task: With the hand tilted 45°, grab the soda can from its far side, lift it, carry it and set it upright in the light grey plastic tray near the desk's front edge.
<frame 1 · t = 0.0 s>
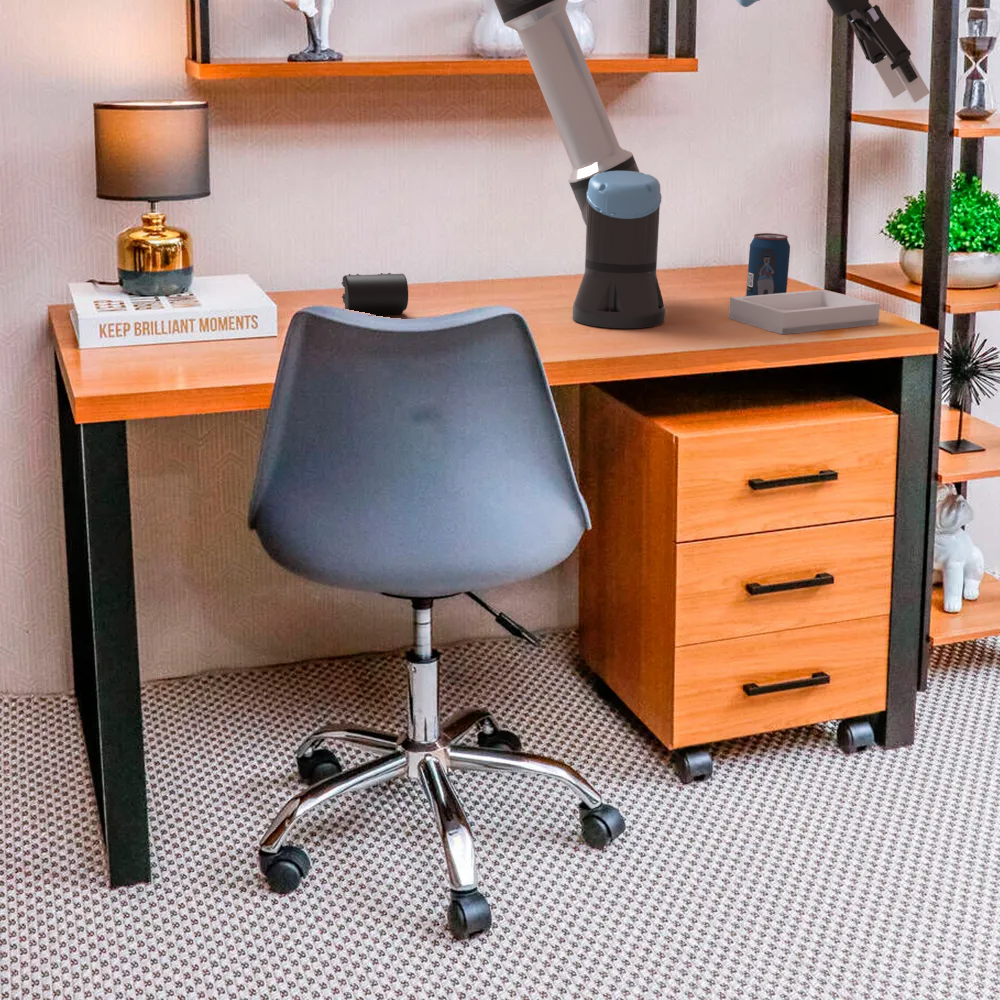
hand: (911, 95, 237), 36 cm above the table, tool tilted 35°, fingers open, 13 cm apart
soda can: (765, 305, 252), on the table
tray: (802, 321, 238), on the table
end cap: (374, 316, 237), on the table
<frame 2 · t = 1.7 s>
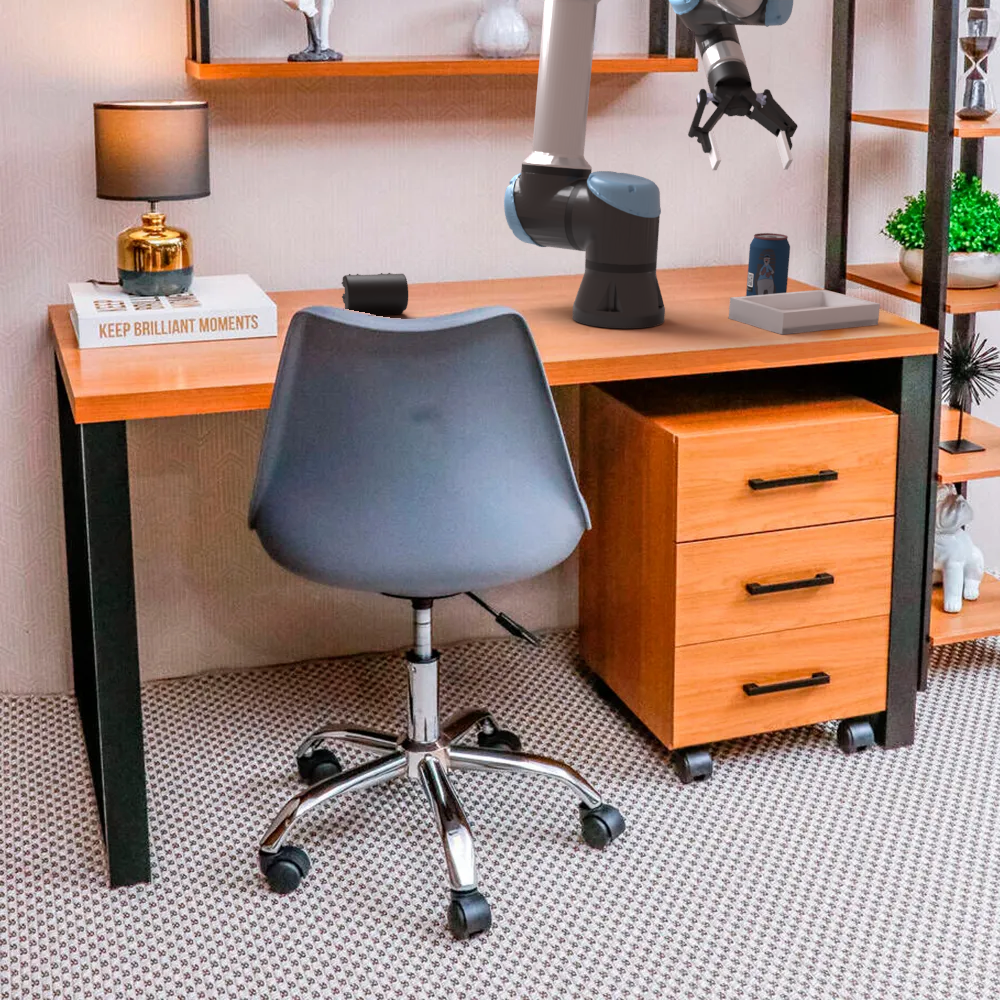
hand: (752, 165, 255), 23 cm above the table, tool tilted 45°, fingers open, 13 cm apart
nothing on the table moved.
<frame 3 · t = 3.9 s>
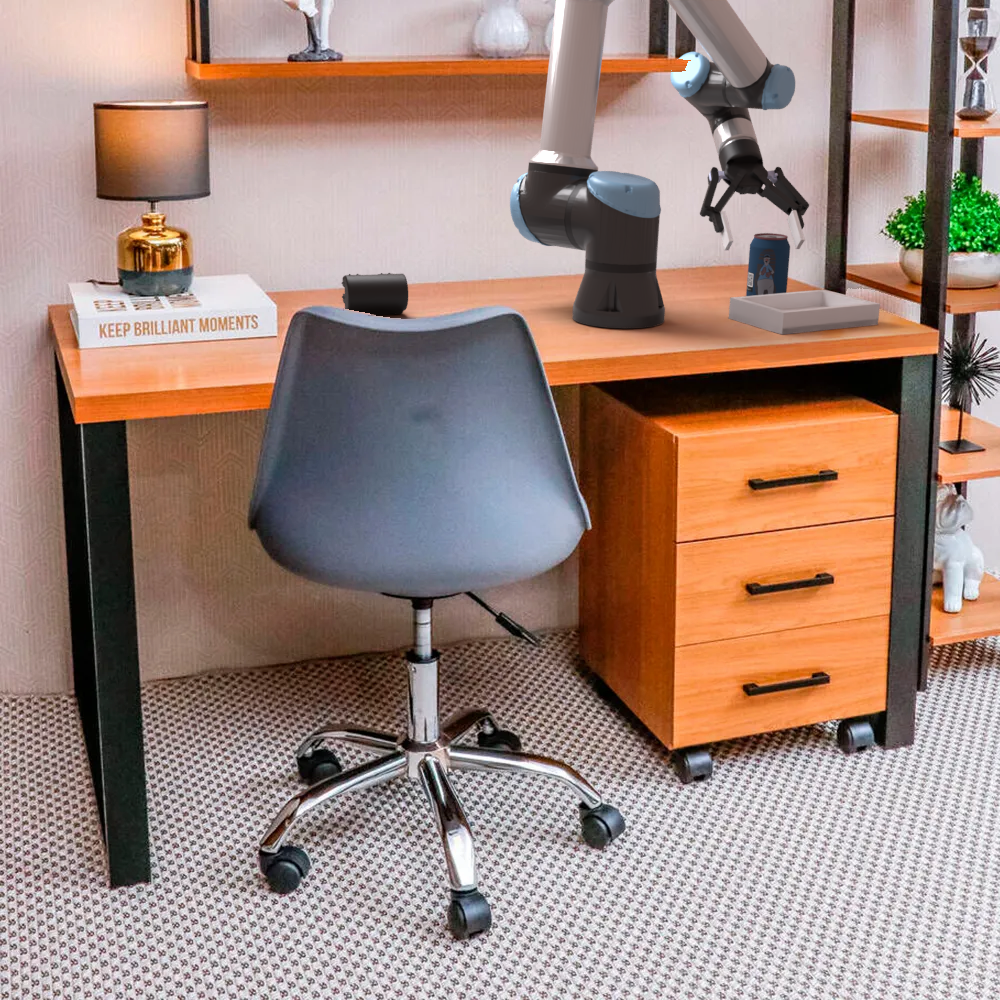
hand: (764, 245, 254), 10 cm above the table, tool tilted 45°, fingers open, 13 cm apart
nothing on the table moved.
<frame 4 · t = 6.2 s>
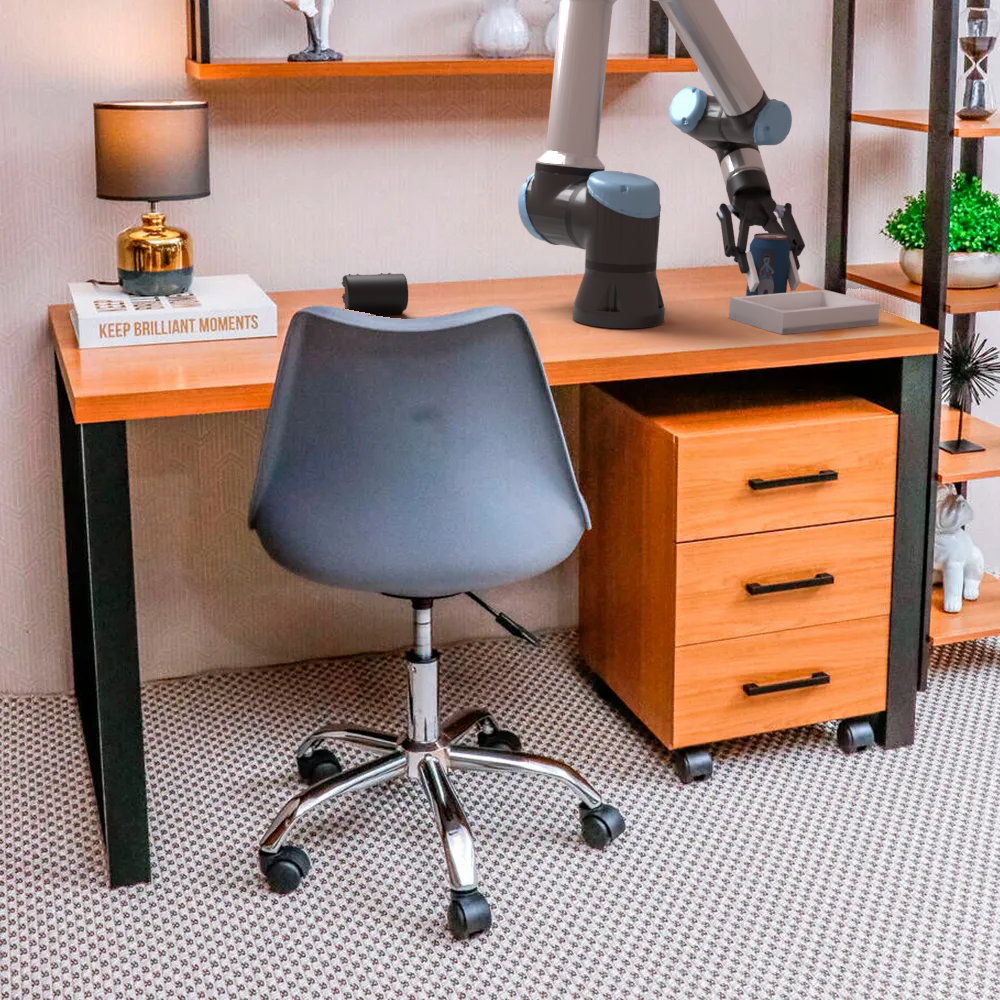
hand: (775, 286, 247), 4 cm above the table, tool tilted 45°, fingers closed on soda can, 7 cm apart
soda can: (765, 305, 252), on the table, touching gripper
everything else where it was.
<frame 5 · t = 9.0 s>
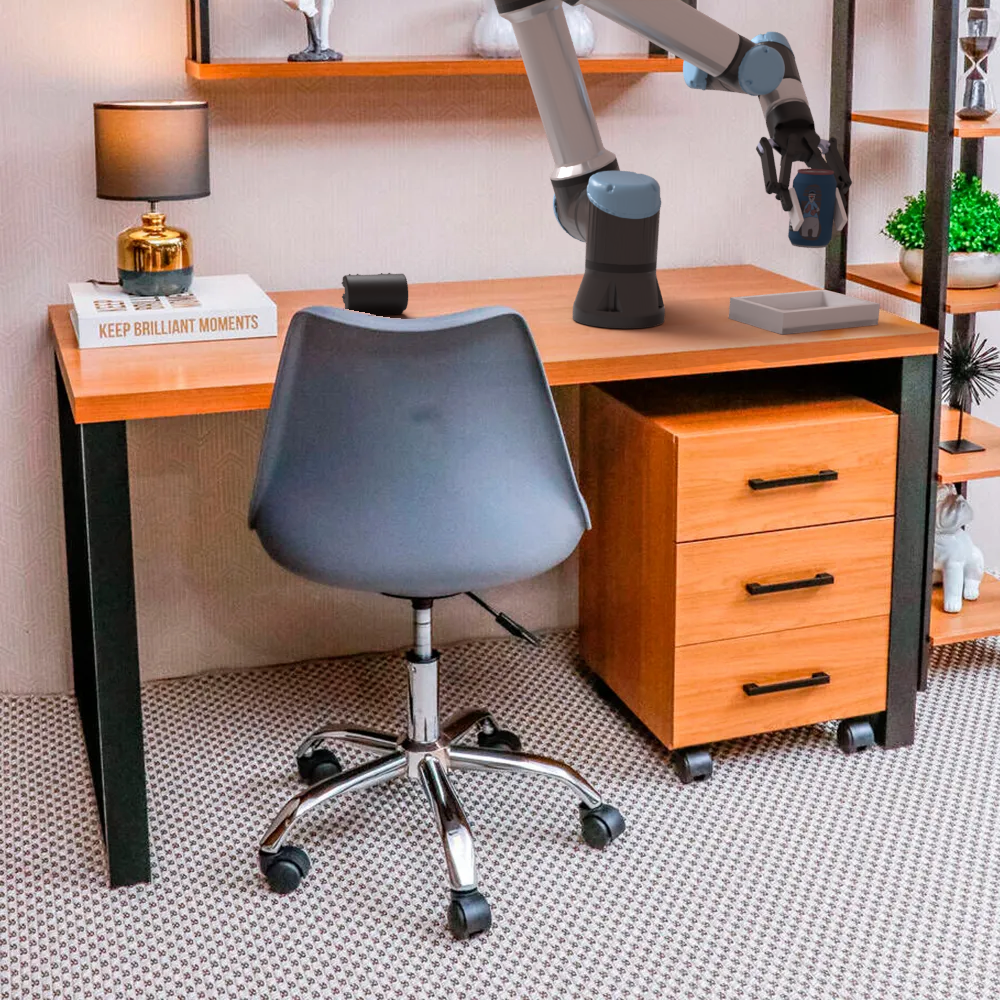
hand: (820, 225, 229), 16 cm above the table, tool tilted 45°, fingers closed on soda can, 7 cm apart
soda can: (808, 246, 234), point 12 cm above the table, touching gripper
everything else where it was.
when the fingers open (6 cm above the table, at t = 11.6 s): soda can drops 1 cm, resting on tray.
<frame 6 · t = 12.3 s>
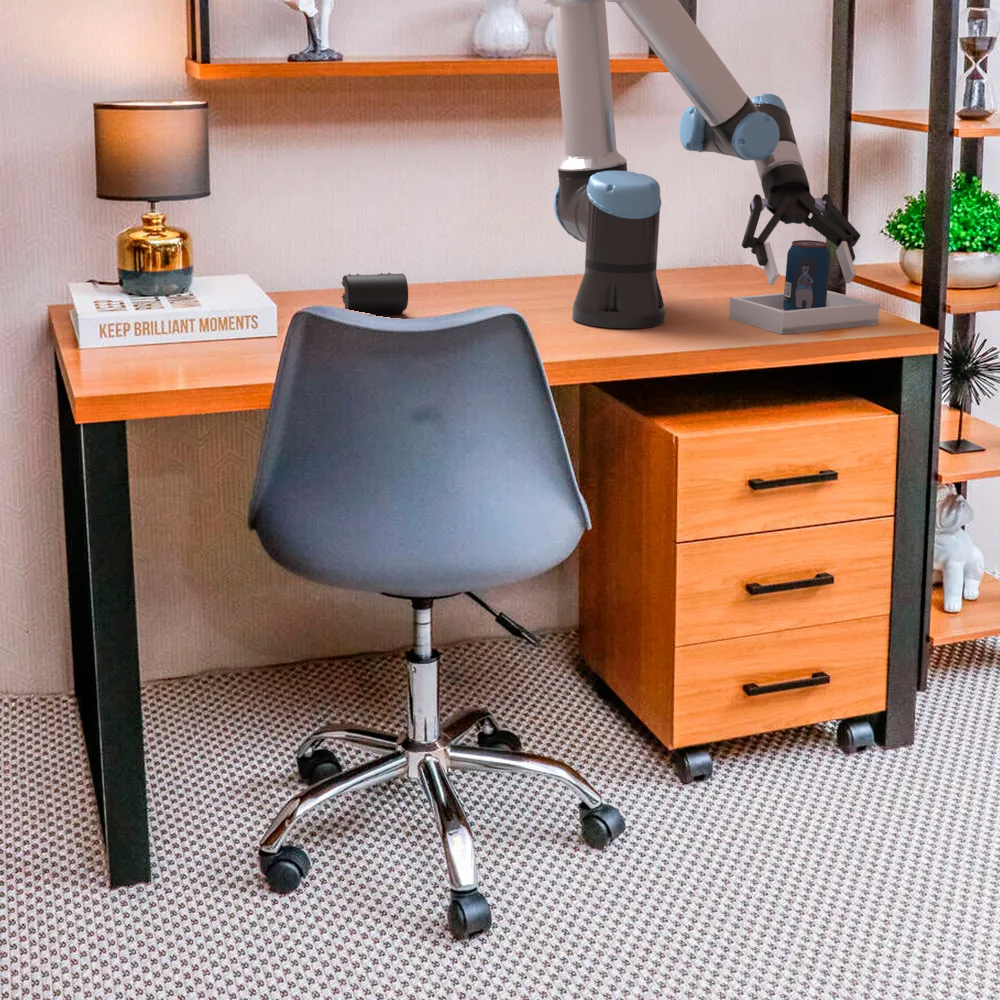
hand: (812, 279, 233), 7 cm above the table, tool tilted 45°, fingers open, 13 cm apart
soda can: (803, 316, 238), point 1 cm above the table, touching tray
everything else where it was.
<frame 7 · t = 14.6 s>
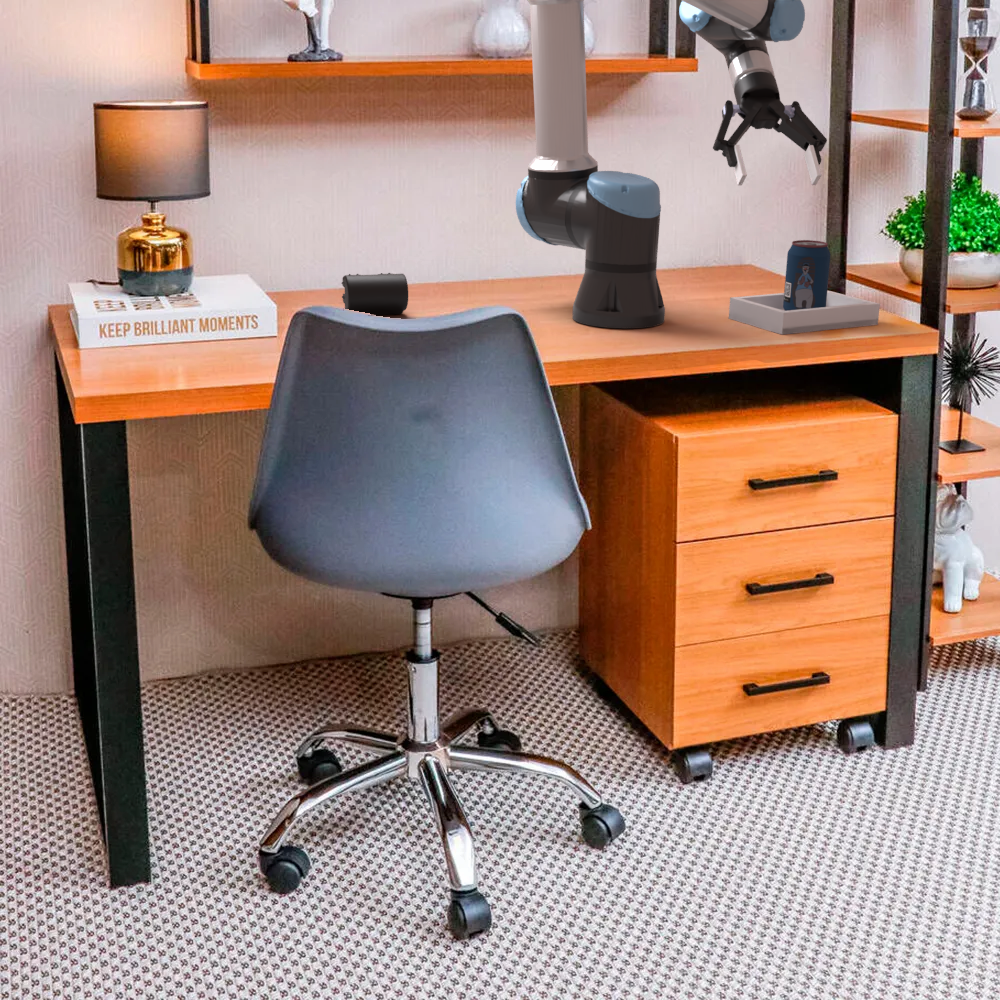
hand: (779, 180, 245), 21 cm above the table, tool tilted 45°, fingers open, 13 cm apart
nothing on the table moved.
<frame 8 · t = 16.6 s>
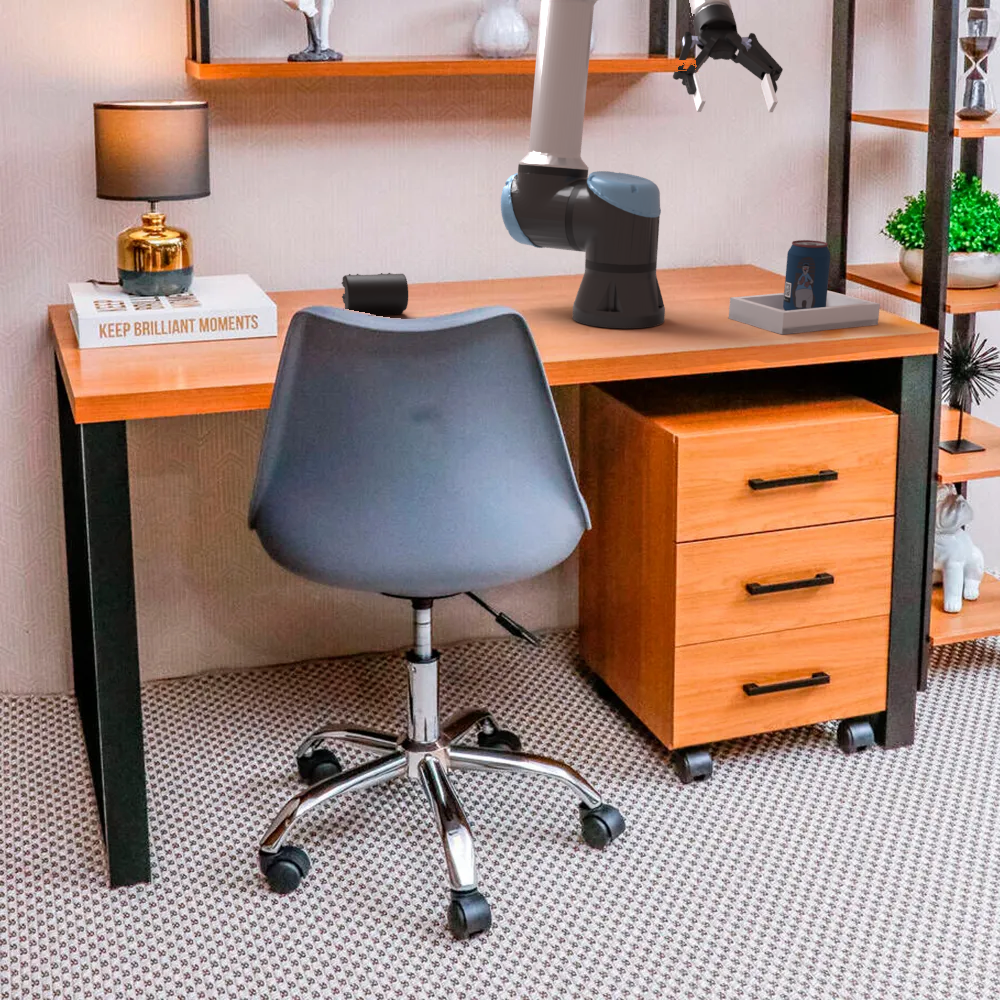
hand: (737, 107, 254), 33 cm above the table, tool tilted 45°, fingers open, 13 cm apart
nothing on the table moved.
at the end: soda can inside the target area on the tray (0.2 cm from its centre), point 0.8 cm above the tray's base; soda can tilted 0°; the gripper is holding nothing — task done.
